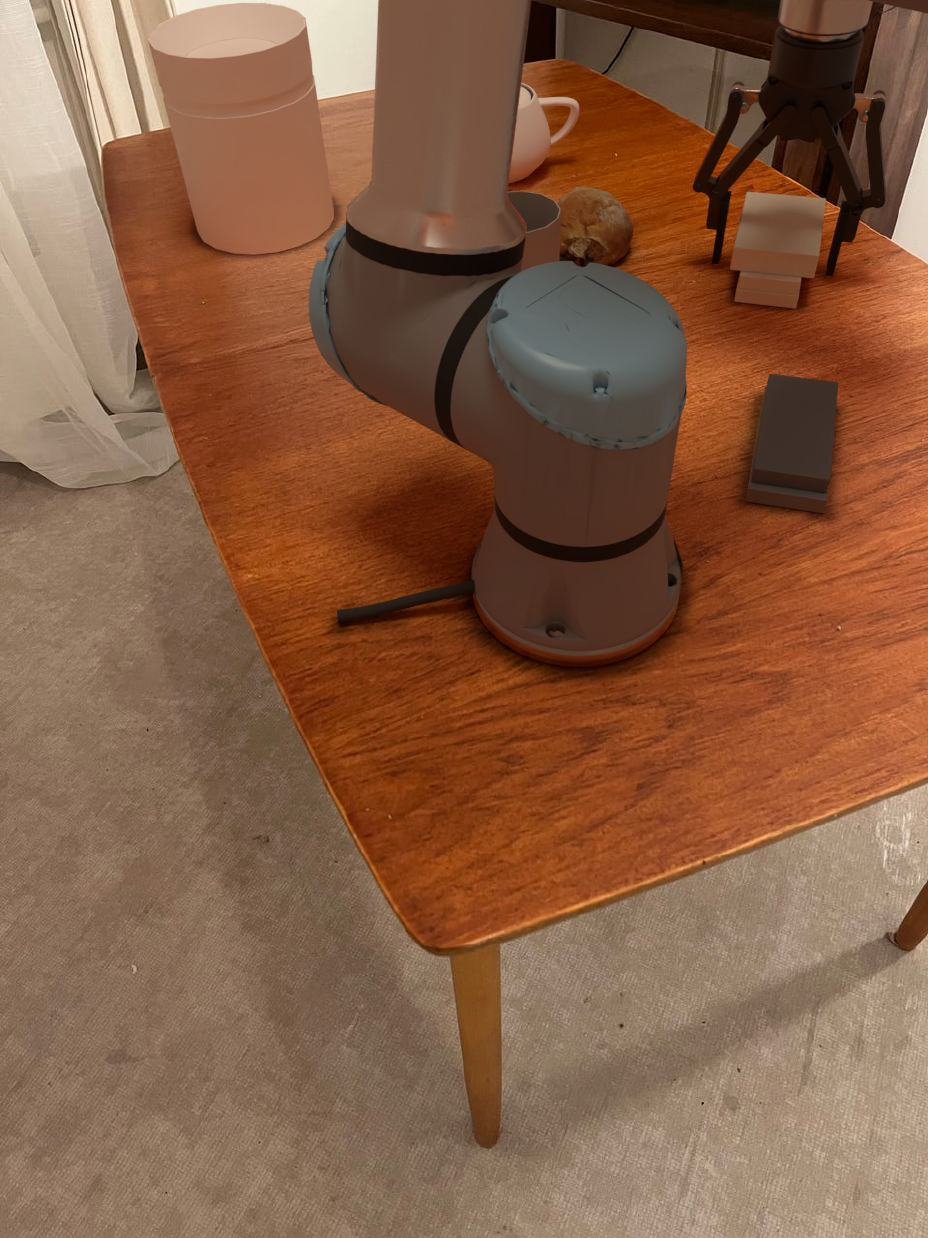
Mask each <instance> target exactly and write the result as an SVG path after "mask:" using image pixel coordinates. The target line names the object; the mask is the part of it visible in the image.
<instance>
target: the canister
mask: <svg viewBox="0 0 928 1238" xmlns="http://www.w3.org/2000/svg"><path fill="white" fill-rule="evenodd" d="M309 39H310V38H309V32H308V26H307V18H306V17H305V16H304V15H303V14H302V13H301V12H299V10H296V9H293V8H290V7H288V6H285V5H280V4H273V3H267V2H236V3H226V4H217V5H216V4H215V5H211V6H206V7H201V8H196V9H193V10H189V11H186V12H183V13H180V14H176V15H174V16H172V17H170V18H168V19H166V20H164V21H162V22H160V23H158V24H157V25H156V26H155V27H154V28H153V29H152V30H150V32H149V35H148V41H147V42H148V46H149V50H150V55H151V58H152V62H153V65H154V70H155V73H156V77H157V81H158V84H159V87H160V88H161V92H162V96H163V104H164V108H165V112H166V114H167V115H166V116H167V119H168V123H169V127H170V131H171V135H172V139H173V143H174V146H175V151H176V155H177V159H178V162H179V165H180V166H179V167H180V169H181V174H182V178H183V181H184V185H185V188H186V193H187V197H188V201H189V204H190V208H191V212H192V215H193V220H194V224H195V227H196V232H197V233H198V235H199V237H200V238H201V240H202V242H203V243H205V244H206V245H208V246H210V247H211V248H214V250H218V251H222V252H226V253H230V254H235V255H237V254H238V255H254V256H255V255H265V254H273V253H279V252H283V251H287V250H290V249H294V248H298V247H301V246H303V245H305V244H308V243H309V242H311V241H314V240H315V239H317V238H318V237H320V236H321V235H322V234H324V233H325V232H326V231H328V229H329V228H330V227H331V225H332V223H333V221H334V220H335V210H334V209H335V208H334V202H333V195H332V188H331V181H330V175H329V169H328V162H327V155H326V147H325V142H324V134H323V127H322V121H321V114H320V107H319V100H318V94H317V86H316V80H315V75H314V73H313V72H314V71H313V59H312V54H311V53H312V52H311V47H310V40H309Z"/></svg>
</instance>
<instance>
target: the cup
mask: <svg viewBox="0 0 928 1238" xmlns="http://www.w3.org/2000/svg"><path fill="white" fill-rule="evenodd" d="M507 195H508V198H509V200H510V202H511V203H512V204H513V206H514V207H515V209H516V210H517V211H518V213H519V214H520V215H521V217H522V218H523V219H524V221H525V222H526V226H527V231H526V238H525V245H524V252H523V261H522V270H521V271H523V270H525V269H528V268H530V267H534V266H537V265H540V264H545V263H550V262H559V254H560V221H561V209H560V207H559V206H558V204H557V203H556V202H557V200H555V199H553V198H551V197H550V196H547V195H544V194H543V193H540V192H532V191H526V190H514V191H513V190H512V191H508V193H507Z"/></svg>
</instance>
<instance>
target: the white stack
mask: <svg viewBox="0 0 928 1238" xmlns="http://www.w3.org/2000/svg"><path fill="white" fill-rule="evenodd" d="M802 278H803V277H795V276H786V275H776V274H767V273H757V272H748V271H739V276H738V281H737V284H736V289H735V295H734V303H743V304H752V305H760V306H768V307H769V306H770V307H776V308H777V307H778V308H786V309H797V307H798V301H799V297H800V291H801V284H802Z"/></svg>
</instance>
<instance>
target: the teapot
mask: <svg viewBox="0 0 928 1238" xmlns="http://www.w3.org/2000/svg"><path fill="white" fill-rule="evenodd" d="M554 106H563V107H568V108H569V109H570V110H569V115H568V118H567V120H566V121H565V123H564V124H563V126H561V128H560V129H559V130H558V131H556V133H554V134H553V135H551V132H550V126H549V122H548V119H547V116H546V113H545V111H544V107H554ZM579 116H580V104H579V102H578V101H577V100H576V99H574V98H572V97H569V96H550V97H549V96H548V97H538V95H537V93H536V91H535V89H534V88H533V87H531V86H530V85H528V84H526V83H524V82H521V88H520V97H519V105H518V113H517V121H516V129H515V137H514V145H513V153H512V161H511V169H510V177H509V184H512V183H516V182H518V181H521V180H523V179H526V178H528V177H529V176H530V175H531V174H533V172H535V170H536V169H538V168H539V167H540V166H541V165H542V164H543V162H544V161H545V160H546V159H547V157H548V155H549V152H550V149H551V147H553V146H555V145H557V144H558V143H559V142H561V141H562V140H563V139H565V137H567V136H568V135H569V133H570V132H572V130H573V129H574V127H575V125H577V122H578V119H579Z"/></svg>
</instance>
